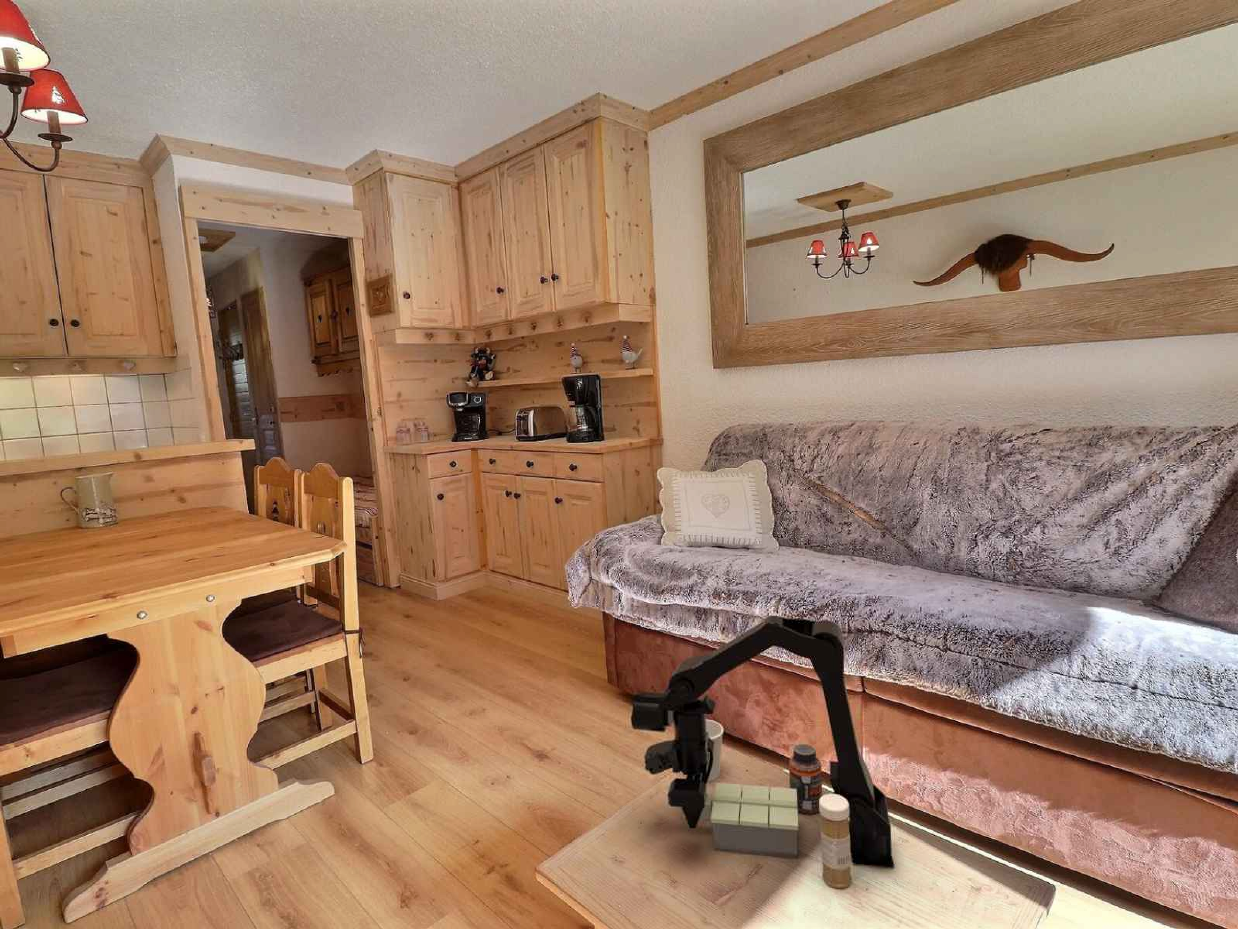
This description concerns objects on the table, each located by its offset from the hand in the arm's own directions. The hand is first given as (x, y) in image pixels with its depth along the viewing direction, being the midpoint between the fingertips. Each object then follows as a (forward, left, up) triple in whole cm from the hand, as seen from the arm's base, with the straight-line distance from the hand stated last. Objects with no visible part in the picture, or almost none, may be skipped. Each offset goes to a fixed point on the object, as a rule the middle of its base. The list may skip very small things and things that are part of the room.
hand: (695, 814), depth 120 cm
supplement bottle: (-20, -10, -3) cm, 22 cm away
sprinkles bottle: (-24, +9, -3) cm, 26 cm away
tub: (-11, 0, -3) cm, 11 cm away
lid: (-8, 0, 0) cm, 8 cm away
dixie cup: (0, -18, -3) cm, 18 cm away
